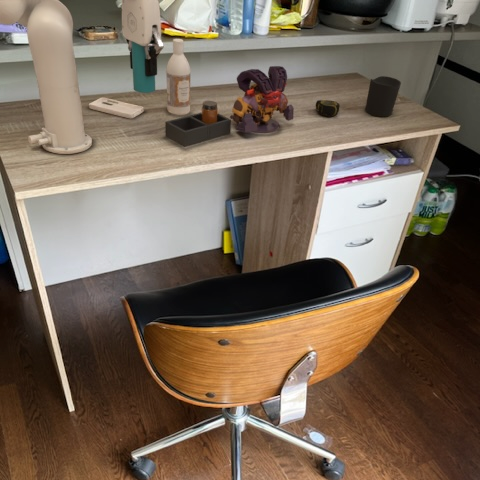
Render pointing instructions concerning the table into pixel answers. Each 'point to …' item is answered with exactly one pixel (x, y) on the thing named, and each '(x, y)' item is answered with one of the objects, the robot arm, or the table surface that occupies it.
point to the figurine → (261, 100)
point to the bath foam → (178, 81)
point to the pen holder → (382, 96)
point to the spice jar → (209, 112)
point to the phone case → (116, 108)
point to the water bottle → (141, 70)
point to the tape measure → (327, 107)
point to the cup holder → (196, 129)
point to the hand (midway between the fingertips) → (143, 71)
